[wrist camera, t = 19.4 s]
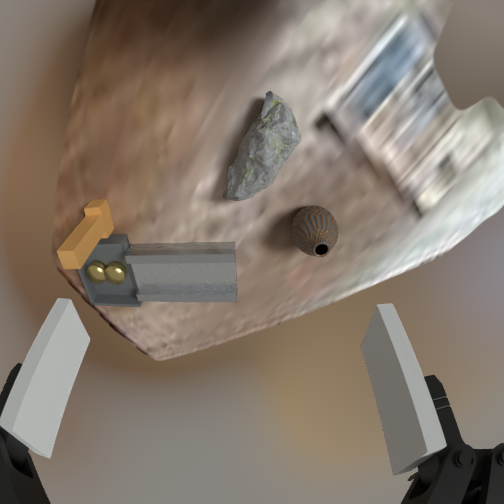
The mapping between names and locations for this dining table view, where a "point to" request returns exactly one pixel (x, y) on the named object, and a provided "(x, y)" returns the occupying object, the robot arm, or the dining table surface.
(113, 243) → the tray
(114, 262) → the gold domed disc
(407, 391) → the robot arm
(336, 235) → the vase
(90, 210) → the orange l-shaped bar
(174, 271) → the slot rail
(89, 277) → the gold domed disc
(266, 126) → the mineral specimen
